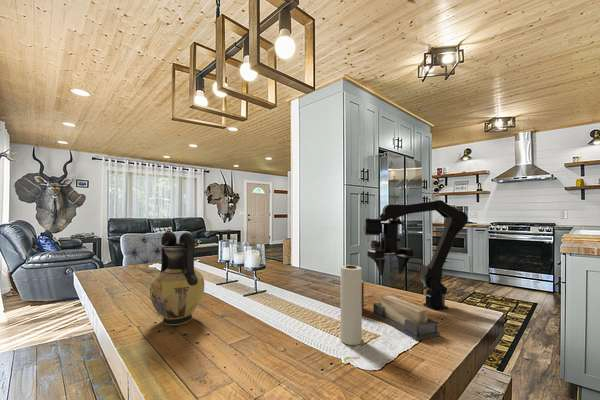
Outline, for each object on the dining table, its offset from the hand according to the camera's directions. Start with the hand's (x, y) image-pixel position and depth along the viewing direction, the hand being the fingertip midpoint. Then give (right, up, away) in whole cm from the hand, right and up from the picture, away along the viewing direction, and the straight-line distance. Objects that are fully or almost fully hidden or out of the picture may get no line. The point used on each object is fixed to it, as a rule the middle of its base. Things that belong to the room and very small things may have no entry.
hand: (390, 274), depth 113 cm
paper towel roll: (-21, -11, -31) cm, 39 cm away
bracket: (-2, -11, -19) cm, 23 cm away
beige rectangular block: (-2, -10, -19) cm, 22 cm away
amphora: (-78, -11, -18) cm, 81 cm away
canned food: (-16, -12, -6) cm, 21 cm away
